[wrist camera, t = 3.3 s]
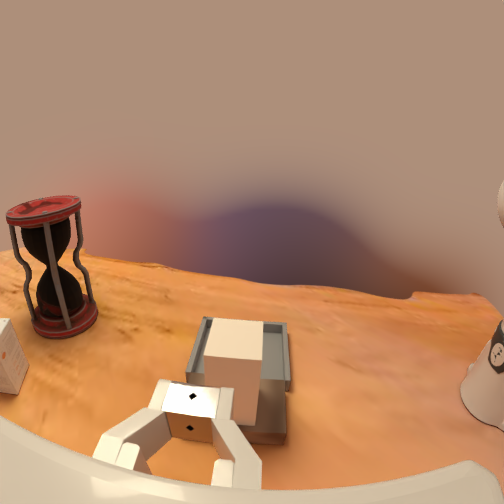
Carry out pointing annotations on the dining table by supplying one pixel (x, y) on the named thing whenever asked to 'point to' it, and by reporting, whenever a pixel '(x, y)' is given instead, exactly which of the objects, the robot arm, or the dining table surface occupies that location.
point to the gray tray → (272, 351)
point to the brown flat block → (262, 412)
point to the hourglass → (53, 265)
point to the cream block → (236, 363)
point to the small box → (11, 359)
